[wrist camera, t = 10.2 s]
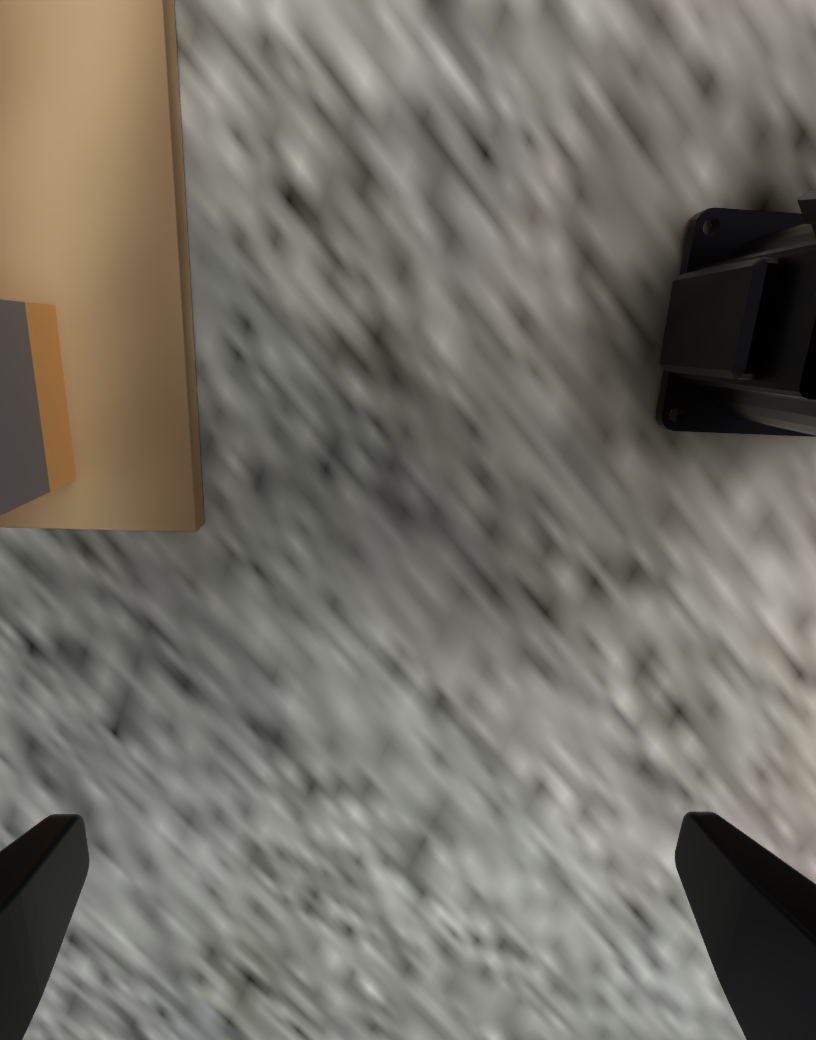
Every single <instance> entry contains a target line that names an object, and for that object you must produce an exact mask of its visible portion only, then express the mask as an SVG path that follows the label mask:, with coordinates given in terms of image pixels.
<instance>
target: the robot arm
mask: <svg viewBox="0 0 816 1040" xmlns="http://www.w3.org/2000/svg"><path fill="white" fill-rule="evenodd" d="M797 200H798V203H799V206H800V209H801V212H802V214H798V213H783V212H769V211H755V210H740V209H726V208H710V209H706V210H704V211H701V212H699V213H698V214H696V215H695V216H694V217H693V218H692V220H691V221H690V223H689V226H688V230H687V236H686V242H685V248H684V253H683V259H682V265H681V271H680V276H679V277H678V278H677V279H676V280H675V281H674V282H673V285H672V291H671V297H670V303H669V309H668V315H667V320H666V326H665V332H664V338H663V344H662V350H661V356H660V365H661V367H662V368H663V375H662V381H661V387H660V393H659V398H658V404H657V410H656V420H657V422H658V424H659V425H660V426H661V427H662V428H665V429H669V430H673V431H690V432H715V433H740V434H765V435H789V436H814V437H816V188H814V189H813V190H811V191H809V192H808V193H806V194H804V195H803V196H801V197H800V198H798V199H797ZM706 220H708V221H710V223H711V224H712V231H711V234H710V235H709V236H707V235H705V233H704V232H703V225H704V222H705V221H706ZM674 408H677V409H678V416H677V418H676V419H675V420H674V421H670V419H669V414H670V412H671V410H672V409H674ZM675 864H676V868H677V871H678V874H679V877H680V879H681V882H682V885H683V887H684V890H685V893H686V895H687V898H688V901H689V903H690V906H691V909H692V911H693V914H694V917H695V919H696V922H697V925H698V927H699V930H700V933H701V935H702V938H703V941H704V943H705V946H706V949H707V951H708V954H709V957H710V959H711V962H712V964H713V967H714V969H715V972H716V974H717V977H718V979H719V982H720V984H721V986H722V988H723V991H724V993H725V995H726V997H727V999H728V1002H729V1004H730V1006H731V1008H732V1010H733V1012H734V1014H735V1016H736V1018H737V1021H738V1023H739V1025H740V1027H741V1029H742V1031H743V1033H744V1035H745V1037H746V1039H747V1040H816V884H815V883H813V882H812V881H811V880H809V879H808V878H806V877H805V876H804V875H802V874H801V873H799V872H798V871H797V870H795V869H794V868H792V867H791V866H789V865H788V864H787V863H785V862H784V861H782V860H781V859H780V858H778V857H777V856H775V855H774V854H773V853H771V852H770V851H768V850H767V849H766V848H764V847H763V846H761V845H760V844H758V843H757V842H756V841H754V840H753V839H751V838H750V837H749V836H747V835H746V834H744V833H743V832H742V831H740V830H739V829H737V828H736V827H734V826H733V825H732V824H730V823H729V822H727V821H726V820H725V819H723V818H722V817H720V816H719V815H717V814H716V813H713V812H688V813H687V814H686V815H685V816H684V818H683V821H682V825H681V829H680V833H679V838H678V842H677V846H676V850H675ZM88 867H89V852H88V845H87V838H86V831H85V824H84V820H83V818H82V816H80V815H78V814H54V815H50V816H48V817H47V818H45V819H43V820H42V821H41V822H39V823H38V824H37V825H35V826H34V827H33V828H31V829H30V830H29V831H27V832H26V833H25V834H23V835H22V836H20V837H19V838H18V839H16V840H15V841H14V842H12V843H11V844H10V845H8V846H7V847H6V848H4V849H3V850H1V851H0V1040H22V1039H23V1037H24V1035H25V1033H26V1030H27V1028H28V1026H29V1024H30V1022H31V1020H32V1018H33V1015H34V1013H35V1011H36V1009H37V1006H38V1004H39V1002H40V1000H41V997H42V995H43V992H44V990H45V987H46V985H47V982H48V979H49V977H50V974H51V971H52V969H53V966H54V963H55V961H56V958H57V955H58V952H59V950H60V947H61V944H62V942H63V939H64V936H65V933H66V931H67V928H68V925H69V923H70V920H71V917H72V914H73V912H74V909H75V906H76V904H77V901H78V898H79V895H80V893H81V890H82V887H83V885H84V882H85V879H86V876H87V872H88Z"/></svg>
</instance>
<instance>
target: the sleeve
mask: <svg viewBox="0 0 816 1040" xmlns="http://www.w3.org/2000/svg"><path fill="white" fill-rule="evenodd" d="M74 480H76V474H75V466H74V457H73V449H72V441H71V432H70V424H69V416H68V408H67V399H66V391H65V383H64V374H63V366H62V358H61V349H60V341H59V333H58V324H57V316H56V308H55V305H48V304H39V303H29V302H20V301H11V300H1V299H0V516H1V515H3V514H5V513H7V512H9V511H11V510H13V509H15V508H18V507H20V506H22V505H24V504H26V503H28V502H30V501H32V500H34V499H36V498H39V497H41V496H43V495H45V494H47V493H49V492H51V491H53V490H55V489H57V488H59V487H62V486H64V485H66V484H68V483H70V482H72V481H74Z"/></svg>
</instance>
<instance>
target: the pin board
mask: <svg viewBox="0 0 816 1040" xmlns="http://www.w3.org/2000/svg"><path fill="white" fill-rule="evenodd" d="M0 299H1V300H11V301H20V302H29V303H39V304H48V305H55V308H56V316H57V324H58V333H59V341H60V349H61V358H62V366H63V374H64V383H65V391H66V399H67V408H68V416H69V424H70V432H71V441H72V449H73V457H74V466H75V474H76V480H74V481H72V482H70V483H68V484H66V485H64V486H62V487H59V488H57V489H55V490H53V491H51V492H49V493H47V494H45V495H43V496H41V497H39V498H36V499H34V500H32V501H30V502H28V503H26V504H24V505H22V506H20V507H18V508H15V509H13V510H11V511H9V512H7V513H5V514H3V515H1V516H0V527H14V528H53V529H92V530H132V531H171V532H197V530H198V529H199V528H200V527H201V526H202V525H203V524H204V523H205V522H204V505H203V488H202V471H201V454H200V436H199V419H198V402H197V385H196V368H195V351H194V333H193V316H192V299H191V282H190V265H189V248H188V230H187V213H186V196H185V179H184V162H183V144H182V127H181V110H180V93H179V76H178V59H177V41H176V24H175V7H174V0H0Z"/></svg>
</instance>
